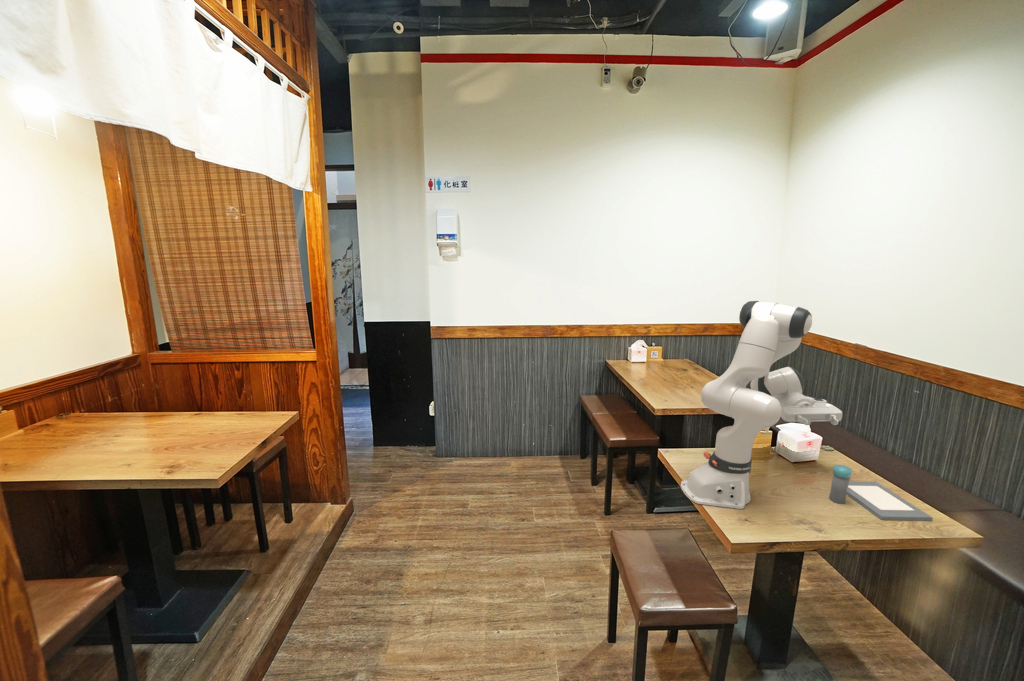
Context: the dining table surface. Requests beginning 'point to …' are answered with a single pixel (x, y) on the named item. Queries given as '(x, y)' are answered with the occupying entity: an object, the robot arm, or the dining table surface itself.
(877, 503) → the writing board
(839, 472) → the marker
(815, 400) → the robot arm
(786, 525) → the dining table surface
